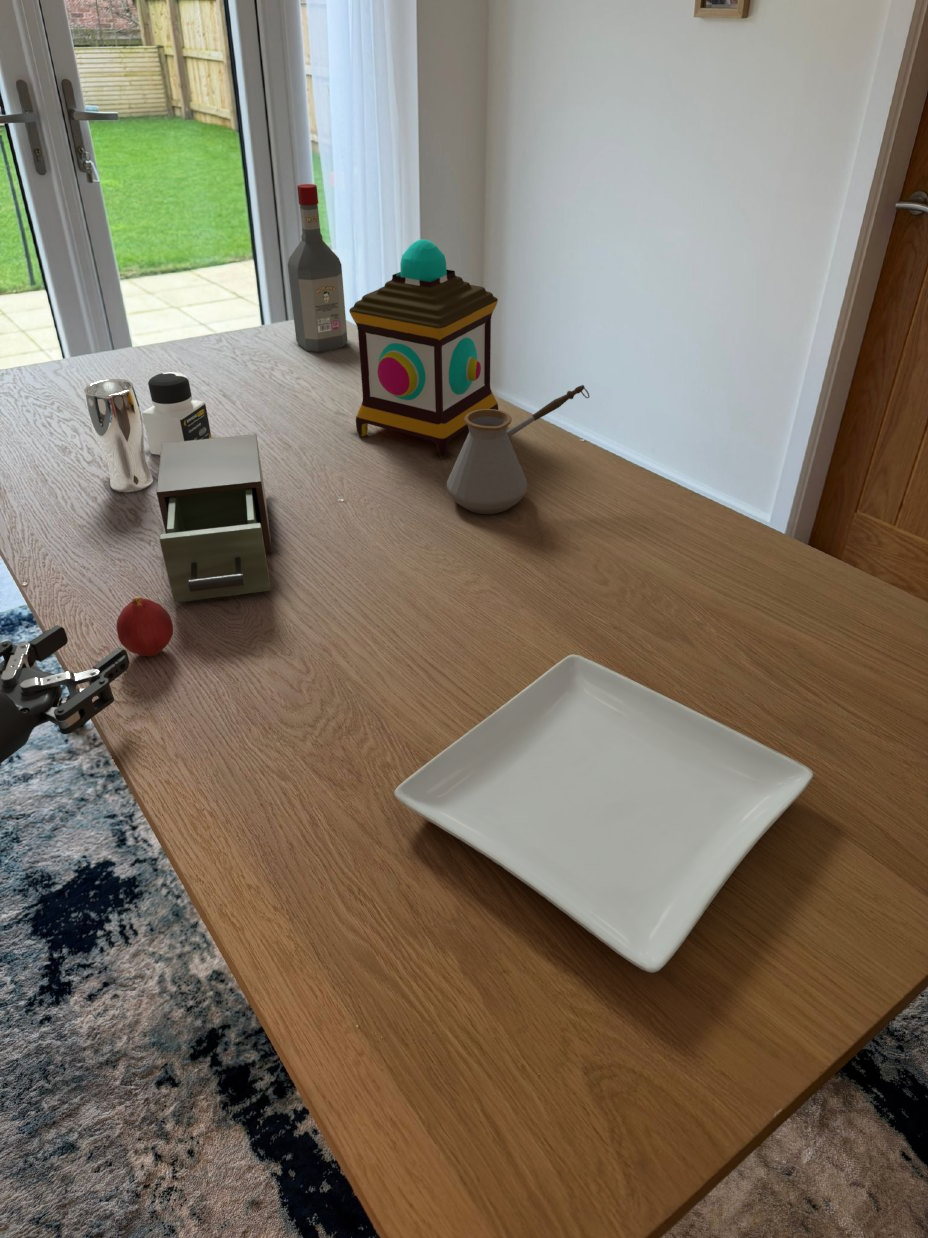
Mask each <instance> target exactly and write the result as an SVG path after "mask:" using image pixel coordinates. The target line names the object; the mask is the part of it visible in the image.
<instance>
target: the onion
mask: <svg viewBox="0 0 928 1238" xmlns="http://www.w3.org/2000/svg"><path fill="white" fill-rule="evenodd" d="M116 633H117V638H118V640H119V643H120V645H122V646H123V647H124V648H125V650H127V651H128V652H130V653H133V654H135V655H138V656H144V657H147V658H151V657H152V658H153V657H155V656H157V655H158V654H159V653H160V652H162V651H163V650H164V649H165V648H166V647H167V646H168V645H169V643H170V642H171V640H172V637H173V635H174V625H173V620H172V617H171V615H170V614H169V611H168V610H166V609H165V608H164V607H163V606H162V605H161V604H160V603H158V602H155V601H154V600H151V599H149V598H144V597H142V596H140V595H136V596H134V597H133V598H132V600H131V601H130V602H128V604H127V605H125V606H124V607H123V608H122V610H121V611H120V613H119V615H118V617H117V620H116Z"/></svg>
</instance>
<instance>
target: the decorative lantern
mask: <svg viewBox="0 0 928 1238" xmlns="http://www.w3.org/2000/svg"><path fill="white" fill-rule="evenodd" d="M399 265H400V266H399V268H400V269H399V270H400V271H399V272H396V273H394V274H392V275H391V277H392V278H391V279H390V280H388V281H386V282H385V283H384V286H382V287H379V288H378V289H376V290H373V291H370V292H369V293H366V294H364V295H363V296H362V297H361V299H359V300H357V301H355V303H354V305H353V306H352V307H350V308H349V314H350V316H351V318H352V320H353V321H354V323H355V325H356V329H357V335H358V336H357V337H358V338H357V339H358V347H359V348H358V350H359V363H360V364H359V365H360V376H361V377H360V378H361V391H362V401H361V404H360V406H359V409H358V411H357V414H356V416H355V427H356V432H357V434H358V436H360V437H365V436H367V435H368V428H369V427H368V426H374V427H378V428H383V429H385V430H389V431H394V432H398V433H402V434H405V435H408V436H412V437H417V438H420V439H425V440H428V441H431V442H433V443H434V444H435V445H436V448H437V454H438V456H439V457H440V458H441V459H444V458H446V457H447V454H448V449H449V443H450V441H451V440H452V439H453V438H454V437H455V436H457V435H459V434H461V433H462V432H463V431H465V430H466V429H469V428H468V425H467V424H466V423H465V421H464V418H465V416H466V415H467V414H468V413H470V412H472V411H475V410H481V409H495V410H499V404H498V401H497V399H496V397H495V395H494V393H493V392H492V389H491V388H492V387H491V346H492V345H491V343H492V341H491V340H492V338H491V337H492V316H493V313H494V311H495V309H496V307H497V305H498V303H499V299H498V297H496V296H494V294H493V293H492V292H491V291H487V290H486V288H485V287H483V286H480V285H475V284H470V282H468V281H464V279H463V278H462V277H461V276H458V275H456V270H452V269H447V260H446V255H445V254H444V253H443V251H442V250H441V249H440V248H439V247H438V245H437V244H435V243H434V242H433V241H430V240H429V239H422V238H421V239H418V240H416V241H414V242H413V243H412V244H410V245H409V246H408V247H407V249H406V250H405V251H404V252H403V254H402V255H401V258H400V264H399Z"/></svg>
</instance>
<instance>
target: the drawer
mask: <svg viewBox="0 0 928 1238" xmlns="http://www.w3.org/2000/svg"><path fill="white" fill-rule="evenodd" d="M167 532H168V533H167V534H166V533H160V534H159V540H158V541H159V543H160V548H161V552H162V558H163V561H164V565H165V569H166V574H167V578H168V582H169V587H170V591H171V596H172V600H173V603H183V602H190V601H199V600H205V599H206V600H207V599H215V598H222V597H223V598H224V597H228V596H230V597H231V596H238V595H245V594H252V593H253V594H254V593H262V592H268V591H271V590H272V587H271V580H270V573H269V567H268V560H267V555H266V554H267V553H265V547H264V541H263V534H262V528H261V523H258V520H257V514H256V507H255V501H254V495H253V488H246V489H237V490H227V491H218V492H208V493H199V494H190V495H180V496H171V497H169V508H168V521H167Z"/></svg>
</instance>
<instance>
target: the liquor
mask: <svg viewBox="0 0 928 1238" xmlns="http://www.w3.org/2000/svg"><path fill="white" fill-rule="evenodd" d="M296 188H297V189H296V190H297V199H298V200H297V201H298V205H299V211H300V221H301V236H300V237H301V241H300V242H299V243H298V245H297V246H296V248H295V249H294V250H293V252H292V254H291V255H290V256H289V258H288V262H287V270H288V271H287V272H288V279H289V288H290V297H291V307H292V315H293V322H294V323H293V324H294V332H295V341H296V343H297V344H298V345H299V346H300V347H301V348H302V349H304V350H305V351H307V352H314V353H321V352H322V353H323V352H327V351H333V350H337V349H338V350H339V349H342V348H343V347H345V346H346V345H347V343H348V329H347V328H348V327H347V316H346V302H345V293H344V291H345V290H344V279H343V266H342V265H343V264H342V263H341V260H340V258H339V256H338V255H337V254H336V253H335V252H334V251H333V250H332V249H331V248H330V247H329V245H328V244H327V243H326V242H325V241H324V240H323V239H324V238H323V235H322V233H321V223H320V214H319V206H318V204H319V194H318V185H316V184H313V183H304V184H302V183H301V184H298V185H296Z"/></svg>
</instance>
